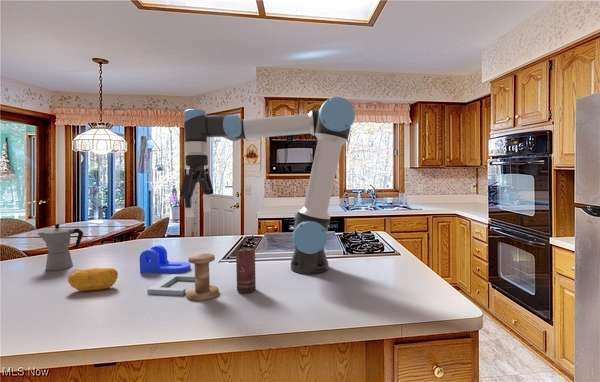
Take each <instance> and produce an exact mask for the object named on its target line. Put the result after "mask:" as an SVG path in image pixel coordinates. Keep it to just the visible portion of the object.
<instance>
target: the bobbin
mask: <svg viewBox="0 0 600 382" xmlns="http://www.w3.org/2000/svg"><path fill="white" fill-rule="evenodd" d="M187 258H188V262H187V263H190V264H194V275H195V281H194V287H191V288H188V289H186V293H185V298H186V299H187V300H189V301H192V300H194V301H195V302H201V301H200V300H203V301H208V299H209V300H212V299H214V298H216V297H218V296H219V294H220V292H219V291H220V290H219V287H217V286H215V285H212V284H211V285H210V283H211V281H210V263H212V262H213V261H215V258H216V257H215V255H214V254H212V253H197V254H196V253H195V254H192V255H190V256H189V257H187ZM194 301H193V302H194Z"/></svg>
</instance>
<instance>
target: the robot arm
mask: <svg viewBox="0 0 600 382" xmlns="http://www.w3.org/2000/svg"><path fill="white" fill-rule="evenodd" d="M355 116H356V114H355V108H354V106H353V104H352V103H351V102H350V100H348V99H347V98H345V97H342V96H332V97H329V98H327V99H326V100H325V101H324V102H323V103H322V104H321V106H320V108H319V109H313V110H310V111H309V113H308V112H307V113H298V114H289V115H288V114H287V115H277V116H276V115H275V116H266V117H265V116H263V117H252V118H244V119H241V117H240V116H239V115H237V114H218V115H217V114H215V115H207V112H206V111H205V110H204V109H201V108H189V109H185V110H184V111H183V135H184V147H183V148H184V152H185V154H186V155H185V158H184V159H185V166H187V168H186V167H185V168H184V171H183V172H184V173H183V174H184V175H183V180H182V184H181V189H180V198H181V199H184V211H185V212H184V214H185V215H184V216H185V218H195V208H194V207H195V206H194V205H195V204H194V197H193V194H194V191H195V189H196V185H197V183H199V185H200V187H201V191H202V192H203V195H202V200H203V201H202V202H203V203H202V206H203V213H211V212H212V202H211V201H212V198H211V197H212V196H211V195H213V194H214V188H213V187H214V186H213V183H212V180H211V177H210V170H209V168H208V167H206V166H208V165H209V159H208V153H209V152H208V138H224V139H227V140H228V141H230V142H233V141H234V142H235V141H239V140H245V139H258V138H268V137H269V138H270V137H271V138H272V137H282V136H293V135H296V136H297V135H306V134H310V135H312V136H315V137H316V139H317V142H316V148H315V152H314V156H313V161H312V166H311V171H310V175H309V180H308V184H307V189H306V194H305V198H304V202H303V207H302V208H299V209H298V210H297V211H295V213H294V217H293V219H294V229H293V231H292V241H293V244H294V251H293V254H292V257H291V261H290V270H291V271H292V272H295V273H298V274H304V275H315V274H316V275H317V274H321V273H324V272H325V273H326V272H327V271H328V270H329V261H328V258H327V255H326V254H327V253H326V251H325V247H326V244H327V241H328V229H329V225H330V222H331V221H330V220H331V216H330V215H329V213H328V211H329V206H330V202H331V201H330V200H331V196H332V193H333V189H334V188H333V187H334V183H335V178H336V174H337V170H338V165H339V161H340V156H341V152H342V147H343V145H344V144H346V143H347V142H348V141H349V136H350V132H351V128H352V125H353V123H354V121H355ZM188 167H189V168H188Z"/></svg>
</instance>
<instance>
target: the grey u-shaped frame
mask: <svg viewBox="0 0 600 382" xmlns="http://www.w3.org/2000/svg"><path fill="white" fill-rule="evenodd" d="M176 281H180V282H181V281H184V282H186V281H188V282H189V281H190V282H195V274H181V273H170V275H168V276H166V277H165V278H163V279H162V280H160V281H158V282H156V283H155V284H154V285H152V286H150V287H148V288H147V289H146V291H147V295H165V296H168V295H169V296H184V295H186V291H187V289H186V288H183V287H181V288H180V287H169V286H171V285H172V284H174V283H175V282H176Z"/></svg>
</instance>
